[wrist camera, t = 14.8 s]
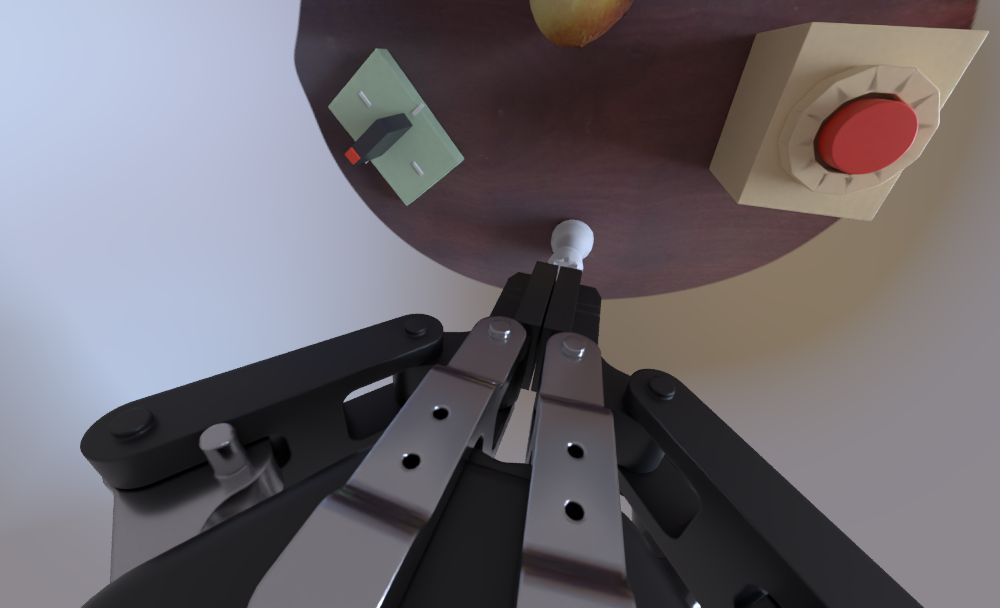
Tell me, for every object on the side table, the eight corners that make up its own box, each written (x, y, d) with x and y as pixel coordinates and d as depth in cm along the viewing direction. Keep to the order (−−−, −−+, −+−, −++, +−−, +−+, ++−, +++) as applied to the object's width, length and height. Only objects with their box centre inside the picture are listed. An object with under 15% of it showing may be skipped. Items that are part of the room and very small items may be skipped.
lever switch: (469, 155, 39) (462, 160, 37) (410, 203, 44) (402, 209, 42) (390, 43, 36) (378, 43, 34) (336, 108, 40) (323, 110, 38)
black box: (403, 112, 37) (375, 119, 32) (413, 125, 37) (386, 133, 33) (372, 144, 39) (341, 154, 35) (381, 155, 39) (352, 167, 35)
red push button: (873, 171, 22) (891, 179, 21) (804, 163, 23) (817, 170, 21) (914, 101, 20) (937, 104, 19) (837, 94, 21) (853, 97, 19)
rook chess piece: (543, 238, 42) (529, 271, 35) (572, 209, 39) (562, 238, 33) (573, 264, 42) (565, 301, 36) (603, 237, 40) (600, 271, 33)
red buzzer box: (807, 181, 33) (887, 231, 23) (708, 169, 34) (744, 212, 24) (877, 40, 27) (1022, 28, 18) (756, 33, 29) (826, 18, 19)
